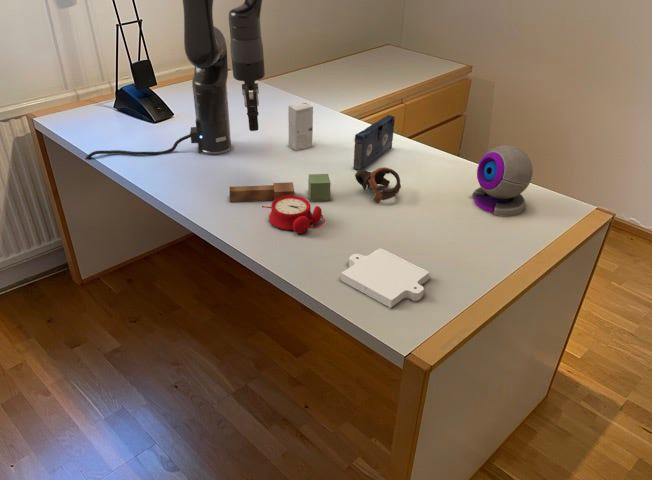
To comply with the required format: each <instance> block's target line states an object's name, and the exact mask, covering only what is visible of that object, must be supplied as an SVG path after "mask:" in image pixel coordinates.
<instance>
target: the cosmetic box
mask: <svg viewBox="0 0 652 480" xmlns="http://www.w3.org/2000/svg"><path fill="white" fill-rule="evenodd" d="M287 110H288V115H287V116H288V120H287V121H288V146H289V147H290V148H291V149H292V150H293V151H298V150H304V149H307V148H312V147H313V136H314V135H313V132H314V131H313V127H314V125H313V124H314V106H313V105H311V104H310V103H308V102H301V103H295V104H291V105H288V109H287Z"/></svg>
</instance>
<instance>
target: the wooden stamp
mask: <svg viewBox="0 0 652 480" xmlns="http://www.w3.org/2000/svg"><path fill="white" fill-rule="evenodd" d="M282 195H283V196H290V195H292V196H295V187H294V182H292V181H290V182H289V181H287V182H286V181H285V182H273V184H267V185H264V184H263V185H240V186H229V201H230V202H231V203H232V202H234V203H235V202H259V201H260V202H263V201H274V200H275V199H277V198H279V197H282Z"/></svg>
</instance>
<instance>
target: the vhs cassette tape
mask: <svg viewBox="0 0 652 480" xmlns="http://www.w3.org/2000/svg"><path fill="white" fill-rule="evenodd" d="M395 119H396V117H395V116H393V115H390V114H387V115H386V116H384V117H382V118H381V119H379V120H378V121H375V122H374V123H372V124H370V125H369V126H367V127H366V128H364V130H361V131H360V132H358V133H356V134H354V150H353V169H355V170H357V171H359V170H365V169H367V167H369V166H370V165H372V164H373V163H374V162H376V161H377V160H378V159H380V158H381V157H383V156H384V155H386V154H387V153H388V152H390V151H391V150H392V149H393V142H394V141H393V140H394V131H395V123H396V122H395Z"/></svg>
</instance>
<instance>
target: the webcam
mask: <svg viewBox="0 0 652 480" xmlns="http://www.w3.org/2000/svg"><path fill="white" fill-rule="evenodd" d="M533 169H534V167H533V163H532V161H531V159H530V157H529V155H528V154H527V153H526V152H525V151H524V150H523V149H521V148H519V147H517V146H514V145H508V144H507V145H498V146H496V147H493V148H491V149H490V150H488V151H487V152H486V153H485V154H484V155H483V157H482V158H481V159H480V160H479V163H478V165H477V170H476V179H477V182H478V184H479V187H478V188H476V189H475V190H474V191H473V192H472V193H471V194H472V195H471V199H474V203H475V205H476V206H477V207H478V208H479V209H481V210H483V211H485V212H489V213H492V214H493V215H494V216H499V217H508V216H509V217H510V216H514V215H518V214H520V213H521V212H522V211H523V210H524V209H525V204H526V201H525V198H524V196H523V195H522V193H523V192H525V190H527V188H528V187H529V186H530V184H531V182H532V179H533V171H534V170H533Z"/></svg>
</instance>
